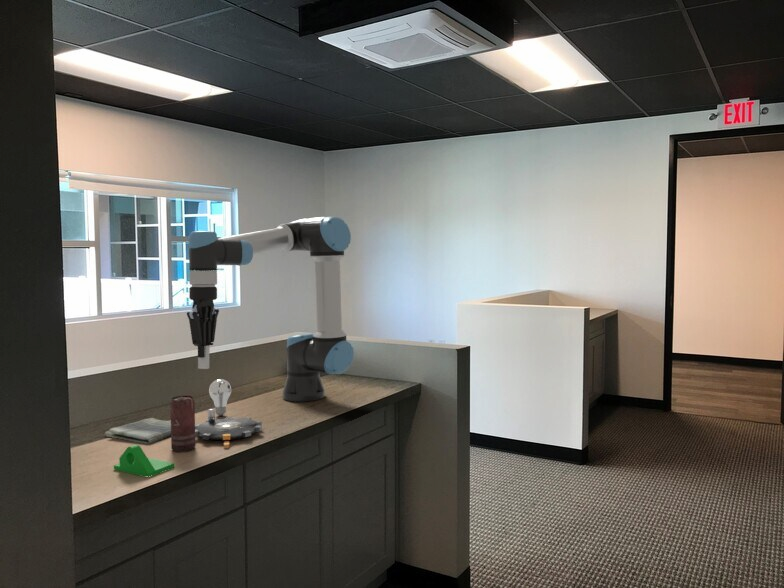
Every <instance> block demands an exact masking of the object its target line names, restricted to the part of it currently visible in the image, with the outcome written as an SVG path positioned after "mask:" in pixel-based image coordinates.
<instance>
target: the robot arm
mask: <svg viewBox="0 0 784 588" xmlns="http://www.w3.org/2000/svg"><path fill="white" fill-rule="evenodd" d="M217 236H218V234H217V233H216V232H215V231H208V230H207V231H206V230H202V231H201V230H197V231H196V230H195V231H191V232H190V234H189V238H188V244H189V245H188V262H189V265H188V267H189V269H188V270H189V285H190V287H189V288H188V289H189V291H188V292H189V294H188V295H189V300H191V301H192V302H193V303H192V305H191V307H192V309H191V311H187V312H186V316H187V319H188V321H189V328H190V335H191V336H190V337H191V342H192V345H194V346H195V347H197V369H199V370H208V369H210V346H213V345H214V343H215V339H216V338H215V336H216V330H217V329H216V328H217V320H218V316H219V314H220V313H219V312H220V309H219V308H215V304H214V301H215V300H217V299H218V287H217V286H216V285H217V284H218V266H239V267H240V266H246V265H249V264H250V263H251V262H252V261H253V257H254V256H257V255H262V254H266V253H271V252H278V251H282V252H286V253H287V252H291V251H304V252H309V256H310V258H311V259H312V260H313V261H314V271H315V272H314V273H315V275H314V276H315V280H314V281H315V305H316V306H315V308H316V331H315V332H313V333H302V334H296V335H295V334H294V335H290V336H288V338H287V339H286V347H285V348H286V370H287V372H286V373H287V375H286V380H285V382H284V383H285V384H284V387H283V391H282V399H283V400H285V401H288V402H299V403H300V402H303V403H304V402H313V401H319V400H321V399H324V398H325V395H326V394H325V393H326V391H325V387H324V384H323V381H322V379H321V376H320V375H321V373H325V374H326V373H327V374H328V375H341V374H344V373H345V372H346V371H348V370H349V368H350V366H351V365H352V364H353V361H354V357H355V351H354V347H353V345H352V343H351V342H350V341H347V333H346V332H345V331H344V329H342V328H343V327H342V325H343V323H342V319H343V318H342V294H341V293H342V292H341V289H342V288H341V259H343V258H344V257H345V251H346V250H347V249H348V247H349V245H350V244H351V240H352V237H351V236H352V235H351V229H350V228H349V226H348V224H347V223H346V222H345V220H343V219H342V218H340V217H338V216H319V217H318V216H317V217H306V218H301V219H298V220H294V221H291V222H285V223H280V224H278V225H276V228H270V229H264V230H259V231H252V232H247V233H240V234H234V235H229V236H224V237H223V236H222V237H217Z"/></svg>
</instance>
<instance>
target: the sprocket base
mask: <svg viewBox="0 0 784 588" xmlns="http://www.w3.org/2000/svg"><path fill="white" fill-rule="evenodd" d="M243 438H244V437H243V436H242V437H236V438H230V440H229V441H233V440H239V439H243ZM210 440H212V441H218V440H219V441H220V442H221V441H223V442H224V441H227V440H223V439H210Z"/></svg>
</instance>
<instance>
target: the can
mask: <svg viewBox="0 0 784 588" xmlns="http://www.w3.org/2000/svg"><path fill="white" fill-rule="evenodd" d="M169 404H170V405H169V406H170V407H169V408H170V422H171V436H170V437H171V438H170V440H171V441H170V443H171V449H172V451H173V452H176V453H185V452H190V451H193V450H195V447H196V436H195V425H196V420H195V419H196V416H195V415H196V413H195V411H196V409H195V399H194V396H192V395H178V396H174V397H171V400H170V402H169Z"/></svg>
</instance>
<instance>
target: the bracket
mask: <svg viewBox="0 0 784 588" xmlns="http://www.w3.org/2000/svg"><path fill="white" fill-rule="evenodd" d="M171 468H172V469H174V468H175V463H174V462H170V461H165V460H161V459H156V458H151V457H147V456H146V454H145V451H144V450H143V449H142V448H141V445H140V444H134V445H131V446H128V447H126V449H125V450H124V452H123V453H122V454H121V455H120V456H119V463H116V464H114V465H113V470H114V469H115V471H118V472H122V471H123V473H126V472H127V473H126V474H130V473H132V474H131V475H134V474H136V475H135V476H139V475H142V476H141V477H143V476H148V477H149V476H151V475H154V474H157V473H159V474H161V473H160V472H162V471H164V472H166V471H165V470H167V471H169V470H172V469H171ZM168 469H169V470H168ZM162 473H163V472H162ZM157 475H158V474H157ZM154 476H155V475H154ZM149 478H150V477H149Z"/></svg>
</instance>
